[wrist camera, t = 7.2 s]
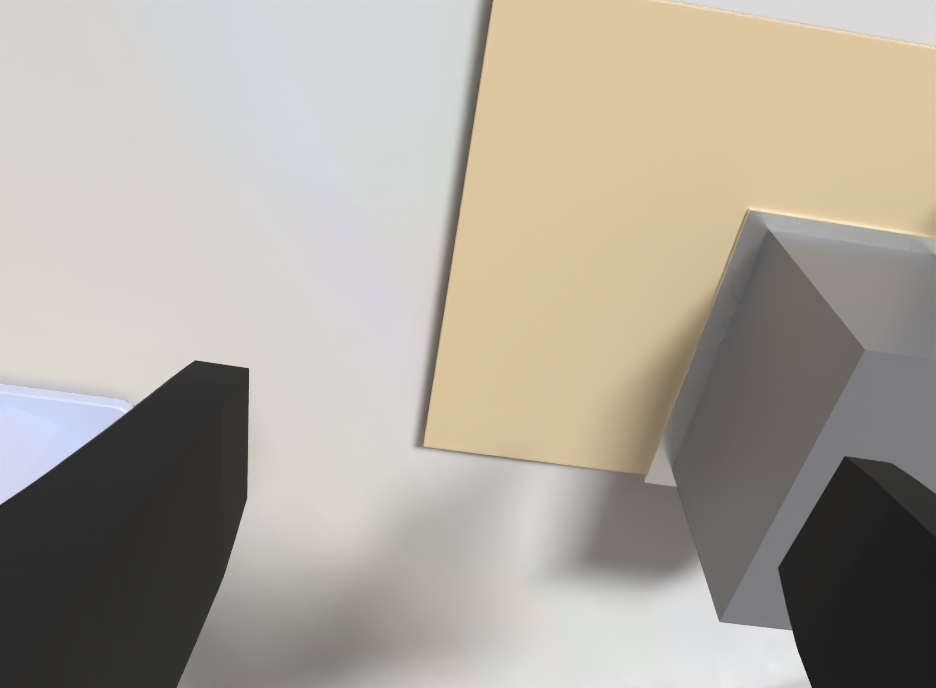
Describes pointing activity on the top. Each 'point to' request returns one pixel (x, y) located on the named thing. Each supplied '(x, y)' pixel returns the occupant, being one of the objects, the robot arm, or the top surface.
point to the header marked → (728, 302)
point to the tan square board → (648, 204)
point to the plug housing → (805, 405)
